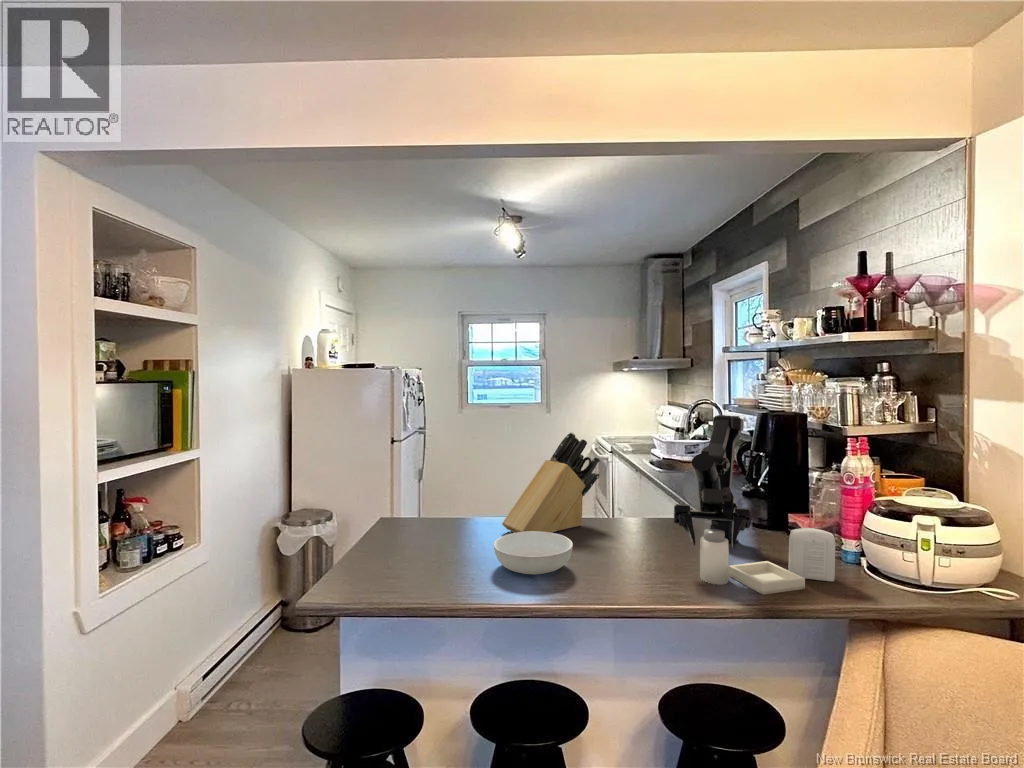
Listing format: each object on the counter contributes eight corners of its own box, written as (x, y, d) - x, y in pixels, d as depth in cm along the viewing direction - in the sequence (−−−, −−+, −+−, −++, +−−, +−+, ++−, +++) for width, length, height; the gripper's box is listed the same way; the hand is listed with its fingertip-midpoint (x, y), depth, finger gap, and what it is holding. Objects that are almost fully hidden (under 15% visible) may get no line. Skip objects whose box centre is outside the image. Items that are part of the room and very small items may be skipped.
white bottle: (716, 572, 135) (717, 526, 135) (734, 582, 129) (734, 534, 128) (694, 575, 133) (694, 528, 133) (711, 585, 127) (711, 536, 127)
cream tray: (767, 570, 137) (767, 560, 136) (804, 588, 125) (804, 578, 125) (728, 575, 133) (728, 565, 133) (763, 594, 122) (763, 584, 122)
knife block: (602, 521, 182) (602, 432, 181) (522, 541, 161) (522, 440, 160) (579, 514, 191) (579, 429, 190) (501, 532, 170) (500, 437, 169)
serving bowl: (531, 549, 154) (531, 526, 154) (588, 568, 139) (588, 542, 139) (477, 568, 139) (477, 542, 139) (535, 591, 124) (535, 562, 124)
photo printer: (832, 576, 132) (832, 528, 132) (837, 583, 128) (837, 533, 128) (786, 572, 135) (787, 524, 135) (790, 578, 131) (790, 529, 131)
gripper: (674, 473, 139) (675, 526, 128) (750, 477, 134) (758, 532, 123) (673, 496, 146) (674, 548, 136) (745, 500, 141) (752, 555, 131)
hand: (713, 546), depth 131 cm, fingers open, 9 cm apart
